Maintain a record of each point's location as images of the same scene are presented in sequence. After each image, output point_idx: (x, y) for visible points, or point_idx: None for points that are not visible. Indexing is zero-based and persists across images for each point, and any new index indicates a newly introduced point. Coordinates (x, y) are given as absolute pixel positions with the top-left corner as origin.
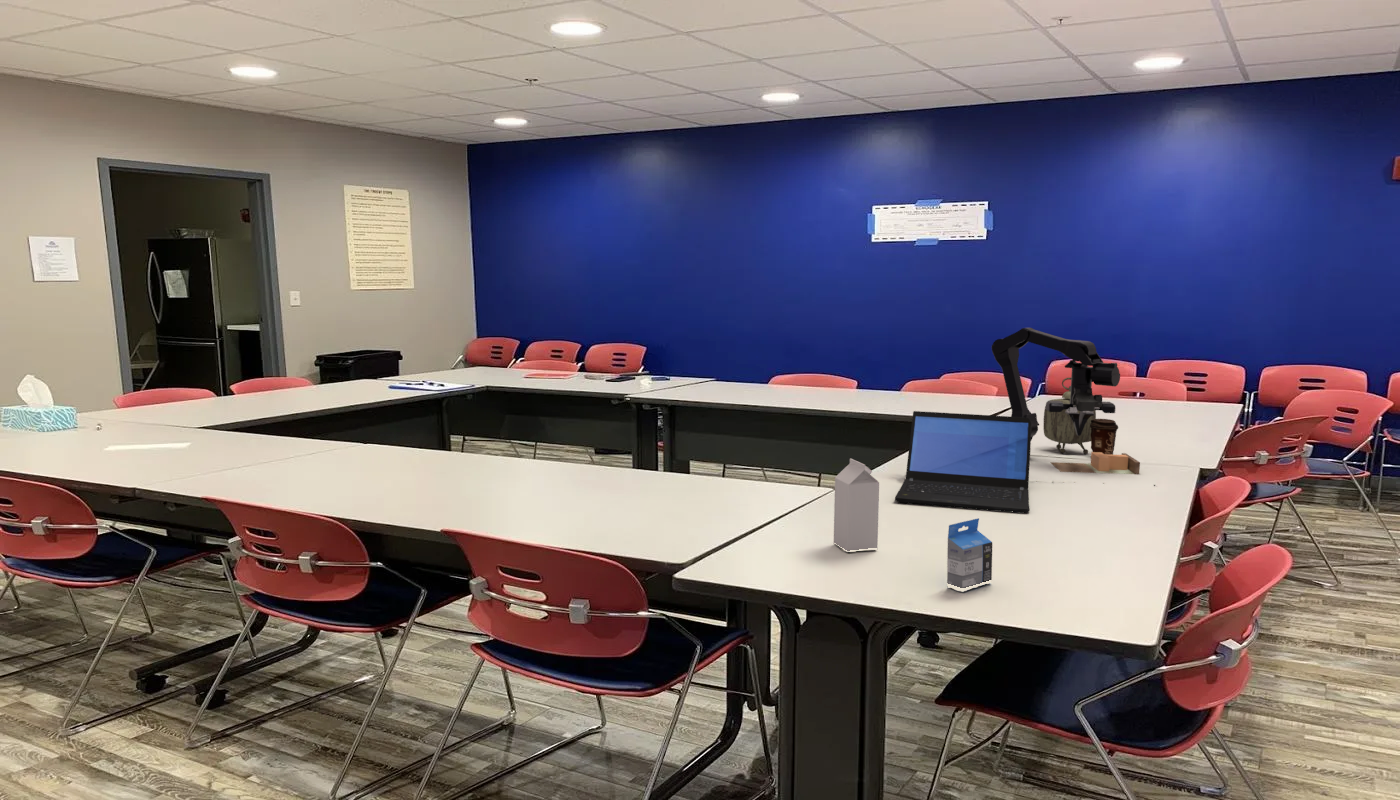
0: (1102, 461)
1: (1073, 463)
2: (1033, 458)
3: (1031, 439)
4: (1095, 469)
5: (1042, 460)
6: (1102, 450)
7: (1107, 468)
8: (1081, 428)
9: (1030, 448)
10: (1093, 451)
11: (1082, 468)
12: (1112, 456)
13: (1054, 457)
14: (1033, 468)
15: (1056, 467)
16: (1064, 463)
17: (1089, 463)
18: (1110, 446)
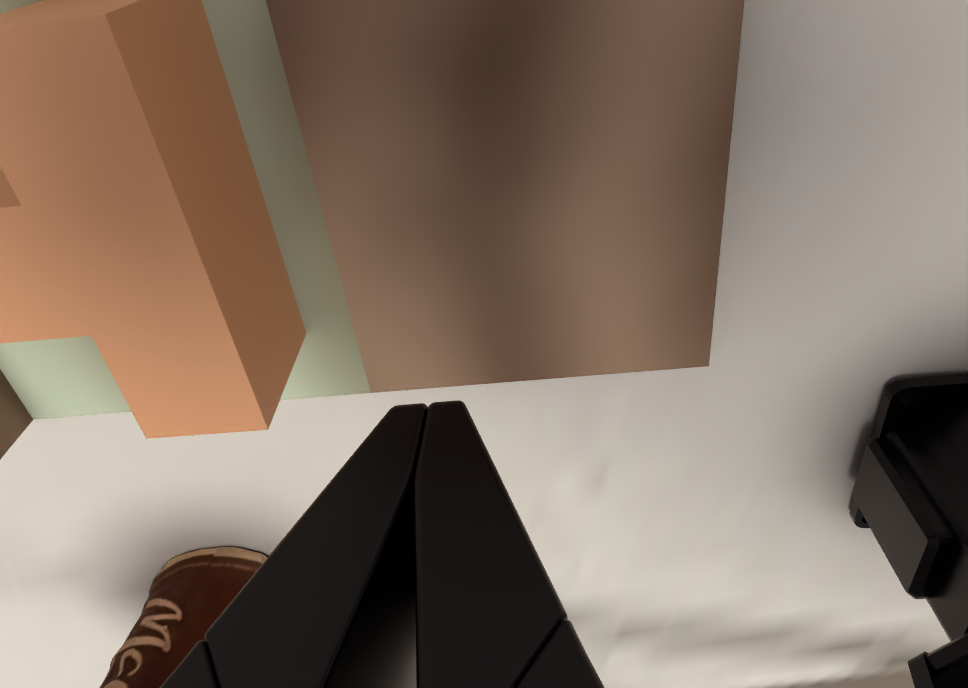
0: (79, 8)
1: (475, 361)
2: (753, 565)
3: (919, 674)
4: (240, 83)
5: (701, 518)
6: (196, 634)
7: (59, 1)
8: (344, 537)
9: (926, 535)
10: None
11: (399, 107)
12: None
13: (574, 616)
14: (955, 150)
15: (728, 81)
16: (569, 342)
17: (318, 396)
18: (114, 677)
